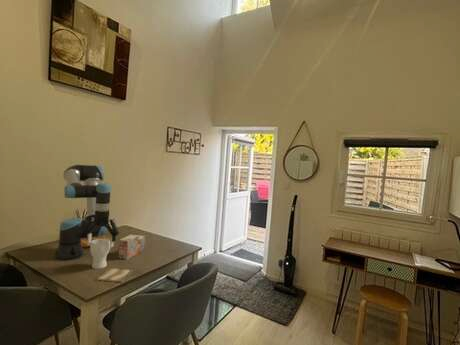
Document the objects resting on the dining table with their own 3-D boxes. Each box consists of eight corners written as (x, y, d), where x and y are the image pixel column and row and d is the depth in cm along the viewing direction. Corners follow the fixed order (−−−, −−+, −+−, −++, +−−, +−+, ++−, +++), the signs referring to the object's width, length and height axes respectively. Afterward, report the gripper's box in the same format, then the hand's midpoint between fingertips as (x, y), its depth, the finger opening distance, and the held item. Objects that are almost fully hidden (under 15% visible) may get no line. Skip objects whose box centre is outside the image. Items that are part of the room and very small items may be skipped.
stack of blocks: (137, 247, 183) (138, 230, 182) (144, 248, 181) (146, 231, 181) (118, 258, 162) (119, 239, 161) (126, 259, 161) (128, 240, 160)
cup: (112, 262, 154) (113, 238, 153) (104, 270, 144) (105, 244, 143) (94, 261, 154) (96, 237, 153) (85, 269, 143) (86, 243, 142)
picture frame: (95, 280, 132) (95, 278, 132) (109, 268, 146) (109, 267, 146) (121, 282, 132) (121, 281, 132) (132, 270, 146) (132, 269, 146)
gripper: (77, 209, 143) (75, 246, 144) (120, 213, 143) (118, 249, 144) (85, 207, 151) (83, 241, 152) (126, 210, 150) (124, 245, 151)
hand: (100, 245), depth 148 cm, fingers open, 13 cm apart
